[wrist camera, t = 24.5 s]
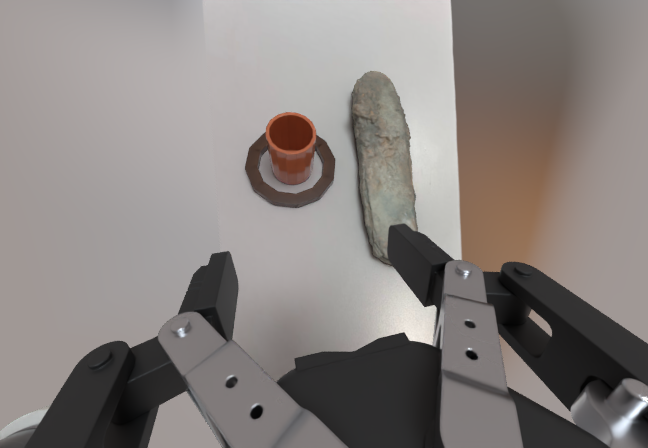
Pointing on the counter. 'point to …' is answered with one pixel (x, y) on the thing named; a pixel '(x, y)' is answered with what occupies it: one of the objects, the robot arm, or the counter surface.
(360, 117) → the elongated rock
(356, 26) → the counter surface
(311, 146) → the cup
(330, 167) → the ring
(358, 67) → the counter surface
